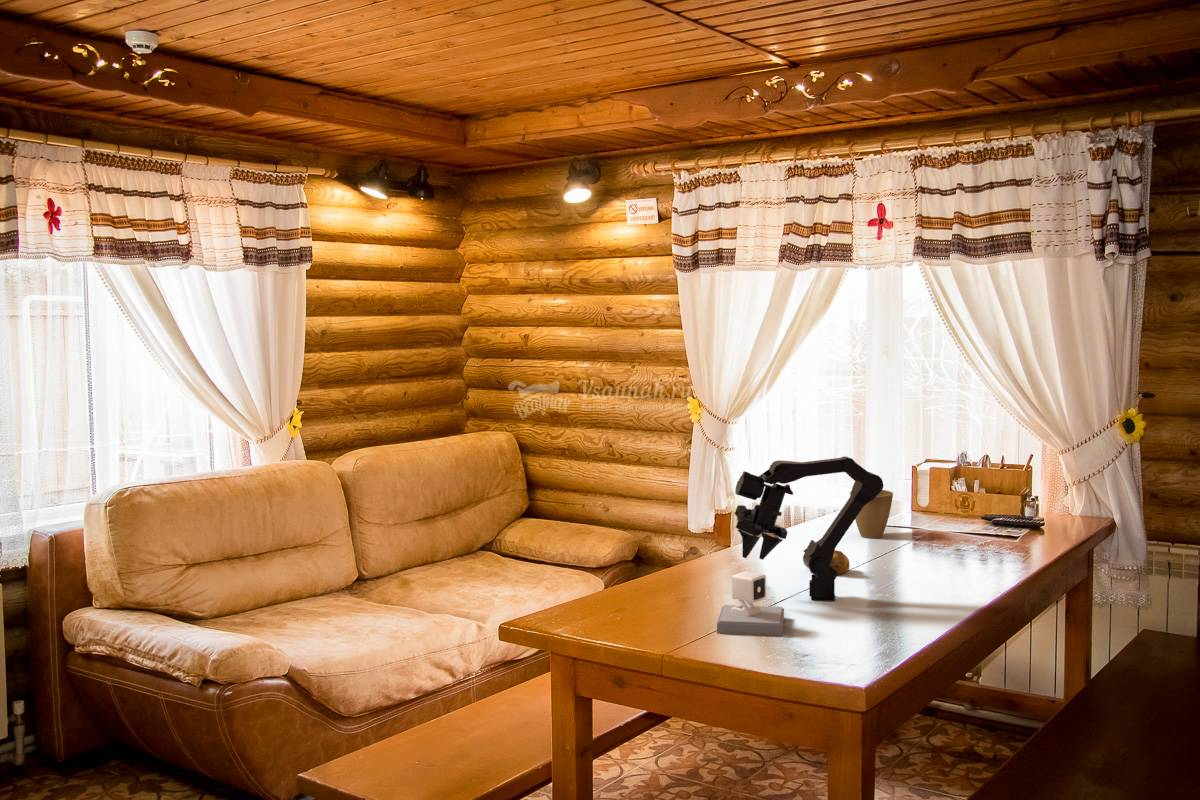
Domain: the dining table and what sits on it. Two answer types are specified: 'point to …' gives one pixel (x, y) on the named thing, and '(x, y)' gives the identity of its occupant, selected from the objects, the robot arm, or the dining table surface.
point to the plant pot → (875, 515)
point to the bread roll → (840, 562)
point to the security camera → (748, 592)
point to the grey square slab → (752, 621)
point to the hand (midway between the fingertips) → (752, 558)
